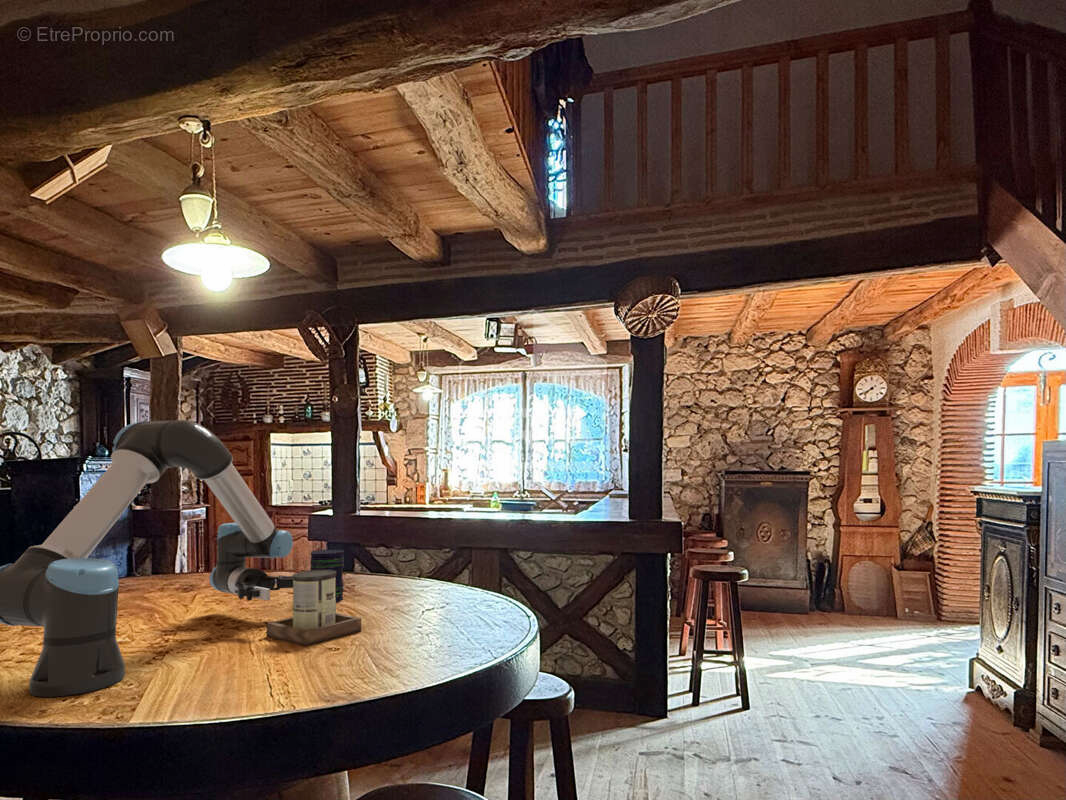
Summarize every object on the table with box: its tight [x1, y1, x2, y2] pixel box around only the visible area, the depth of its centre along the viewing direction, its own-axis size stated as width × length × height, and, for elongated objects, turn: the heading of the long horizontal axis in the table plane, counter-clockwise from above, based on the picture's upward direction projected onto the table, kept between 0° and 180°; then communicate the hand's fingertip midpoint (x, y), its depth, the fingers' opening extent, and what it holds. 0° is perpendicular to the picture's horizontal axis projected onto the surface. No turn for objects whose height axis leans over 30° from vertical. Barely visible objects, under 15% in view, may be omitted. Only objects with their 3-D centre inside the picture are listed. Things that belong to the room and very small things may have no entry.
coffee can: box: [292, 569, 337, 630], centre depth 160 cm, size 10×10×14 cm
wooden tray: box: [266, 612, 362, 647], centre depth 160 cm, size 16×16×3 cm
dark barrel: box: [309, 548, 345, 603], centre depth 200 cm, size 10×10×15 cm
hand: (293, 590), depth 166 cm, fingers open, 13 cm apart
